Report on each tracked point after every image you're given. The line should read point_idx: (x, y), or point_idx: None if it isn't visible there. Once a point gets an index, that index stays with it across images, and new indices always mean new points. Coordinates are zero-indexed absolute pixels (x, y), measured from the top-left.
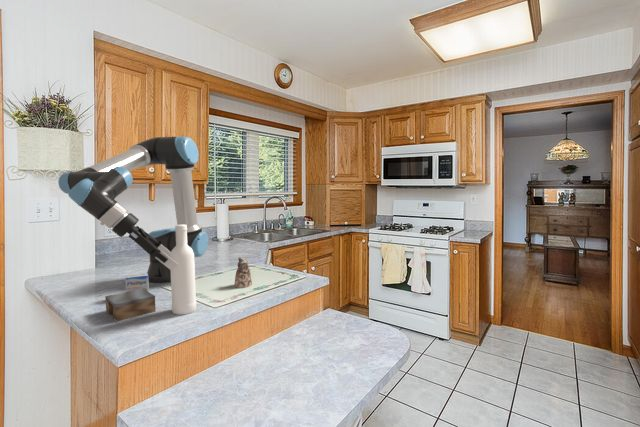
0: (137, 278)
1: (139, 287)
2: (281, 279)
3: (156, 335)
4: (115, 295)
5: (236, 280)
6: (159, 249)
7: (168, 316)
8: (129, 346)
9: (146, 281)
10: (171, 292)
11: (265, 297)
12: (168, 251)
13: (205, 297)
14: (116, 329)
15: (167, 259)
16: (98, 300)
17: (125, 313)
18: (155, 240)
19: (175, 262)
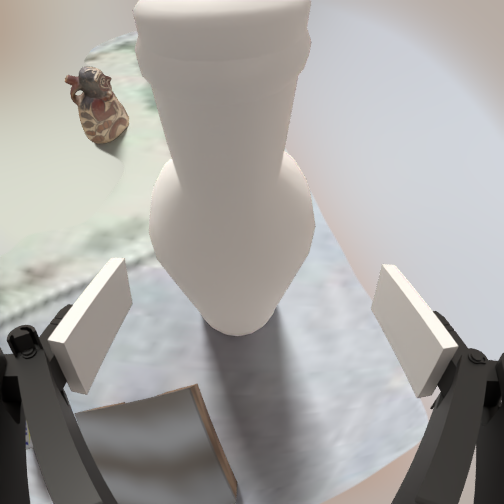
0: None
1: None
2: (130, 62)
3: (391, 374)
4: (122, 497)
5: (103, 128)
6: (86, 361)
7: (266, 349)
8: (420, 422)
9: None
10: (238, 329)
11: None
12: (102, 295)
13: (142, 225)
14: (303, 475)
15: (437, 313)
16: (36, 492)
17: (227, 468)
18: (31, 391)
19: (400, 273)
